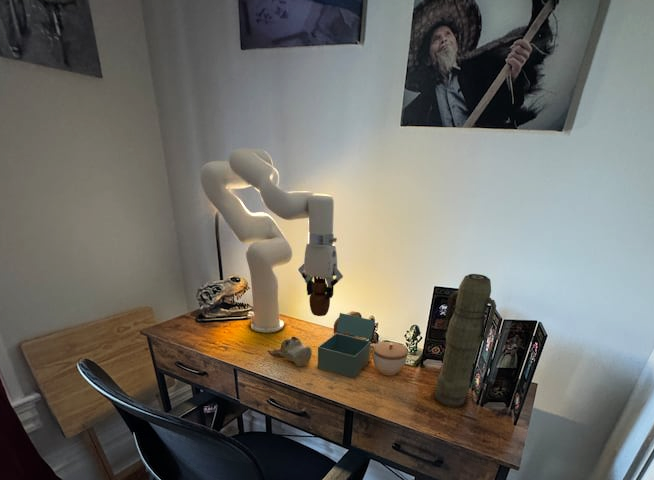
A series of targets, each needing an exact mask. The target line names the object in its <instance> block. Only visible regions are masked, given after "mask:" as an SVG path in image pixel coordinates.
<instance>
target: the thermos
mask: <svg viewBox="0 0 654 480" xmlns="http://www.w3.org/2000/svg"><path fill="white" fill-rule="evenodd" d="M491 285H492V282H491V279H490V278H489V277H488V276H487V275H483V274H479V273H469V274H467V275H465V276H464V277H463V279H462V280H461V282H460V283H459V286H458V290H456V291H453V292H451V294H450V295H449V296H448V298H447V305H446V311H445V317H444V322H443V328H444V329H445V331H446V336H445V342H446V345H445V350H444V355H443V359H442V360H443V361H442V364H441V369H440V373H439V375H438V376H437V378H436V384H435V392H434V398H435V400H436V401H437V402H438V403H440V404H442V405H444V406H448V407H461V406H463V405H464V404H465V402H466V399H467V396H468V393H469V390H470V386H471V374H472V369H473V366H474V362H475V358H476V355H477V351H478V349H479V347H480V346H481V343H482V342H486V341H487V340H488V337H489V335H490V331H491V327H492V323H493V319H494V317H495V312H496V309H497V304H496V301H495V299H493V298H492V297H491V294H492V286H491ZM455 298H456V300H455ZM454 303H455V304H454ZM454 305H455V306H454ZM489 305H490V311H489V314H488V319H487V323H486V326H485V317H486V314H485V313H486V311H488V306H489ZM454 307H455V309H453V308H454ZM452 312H453V314H452Z"/></svg>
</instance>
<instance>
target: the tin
mask: <svg viewBox="0 0 654 480" xmlns="http://www.w3.org/2000/svg"><path fill="white" fill-rule="evenodd" d="M346 314H347V315H352V316H356V317H361V318H363V317H362V313H360V312H359V311H349V312H347V313H346ZM338 320H339V317H337V318H336V319H335V321H334V323H333V335H334V334H336V333H338V334H342V335H346V336H350V337H353V335H350V334H346V333H341V332H337V325H338Z"/></svg>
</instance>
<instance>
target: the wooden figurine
mask: <svg viewBox="0 0 654 480" xmlns="http://www.w3.org/2000/svg"><path fill="white" fill-rule="evenodd" d="M313 282H314V283H313V285H312V290H313V292H314V293H312V294H311V295H309V301H308V302H309V309H310V311H311V314H312V315H313V316H316V317H325V316H326V315H327V314H328V312H329V311H330V306H331V298H330V299H326V288H327V287H328V284H327V281H326V279H325V278H320V277H315V276H314V277H313Z"/></svg>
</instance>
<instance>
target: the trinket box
mask: <svg viewBox="0 0 654 480" xmlns="http://www.w3.org/2000/svg"><path fill="white" fill-rule="evenodd" d="M372 351H373V353H372V361H373V364H374V366H375V368H376V369H377V371H378V372H379V374H381V375H384V376H394V375H397V374H398V373H399V372H400V371H402V370H403V369H404V367H405V365H406V362H407V359H408V355H409V350H408V348H407V347H406V346H405V345H404V344H401V343H399V342H394V341H381V342H378V343H376V344H375V345H373V349H372Z"/></svg>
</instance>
